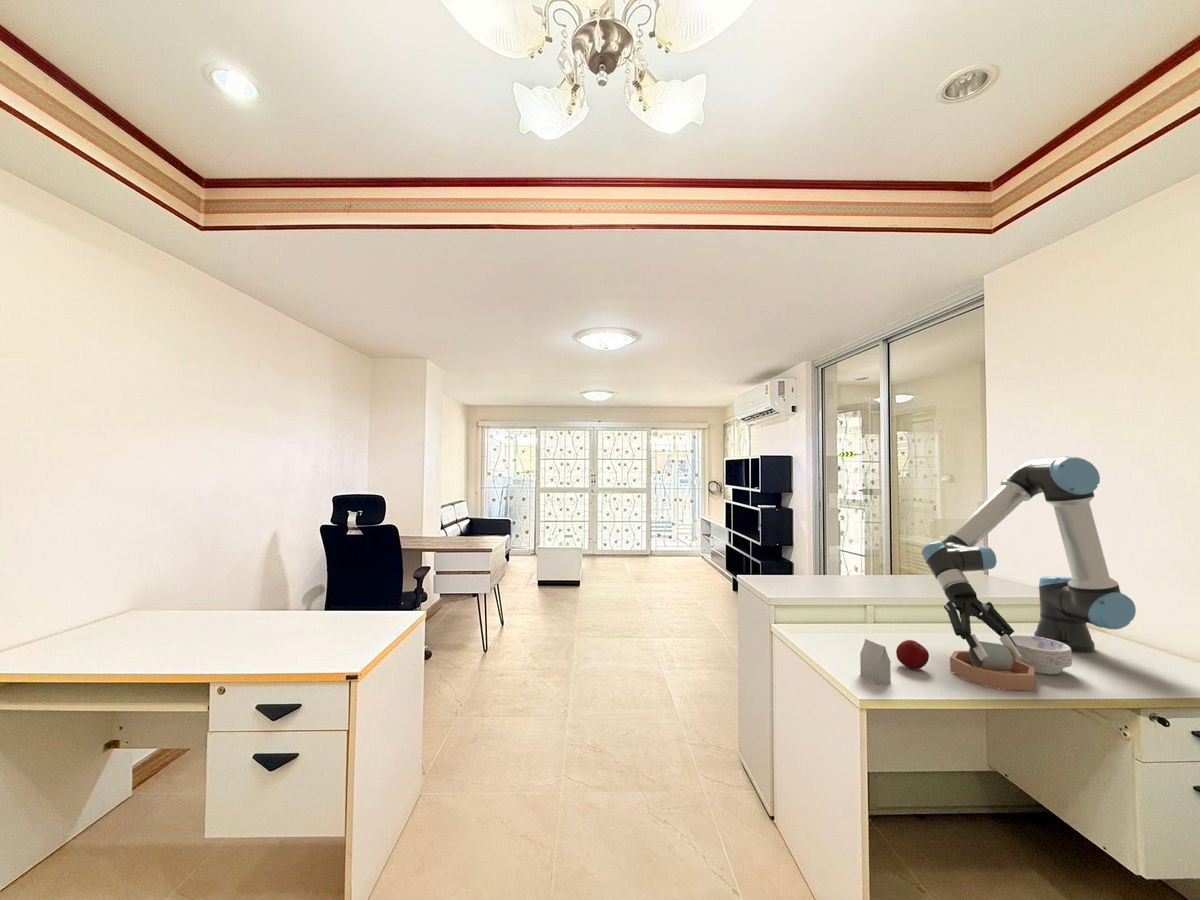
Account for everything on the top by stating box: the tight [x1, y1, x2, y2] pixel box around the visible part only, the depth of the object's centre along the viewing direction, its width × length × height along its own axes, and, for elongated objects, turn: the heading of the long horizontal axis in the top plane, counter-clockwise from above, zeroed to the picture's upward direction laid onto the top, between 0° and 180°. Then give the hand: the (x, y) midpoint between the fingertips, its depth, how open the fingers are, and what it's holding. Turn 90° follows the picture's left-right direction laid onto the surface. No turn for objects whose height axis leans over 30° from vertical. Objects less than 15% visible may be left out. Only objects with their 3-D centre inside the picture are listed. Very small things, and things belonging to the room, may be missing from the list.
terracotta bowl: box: [949, 650, 1036, 691], centre depth 141 cm, size 18×18×4 cm
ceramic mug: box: [968, 640, 1014, 671], centre depth 143 cm, size 11×8×8 cm
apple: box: [895, 639, 930, 670], centre depth 146 cm, size 8×8×8 cm
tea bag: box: [859, 638, 892, 686], centre depth 138 cm, size 4×7×10 cm, turn 15°
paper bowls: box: [1010, 634, 1073, 675], centre depth 148 cm, size 15×15×8 cm
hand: (1000, 658), depth 138 cm, fingers closed on ceramic mug, 9 cm apart
